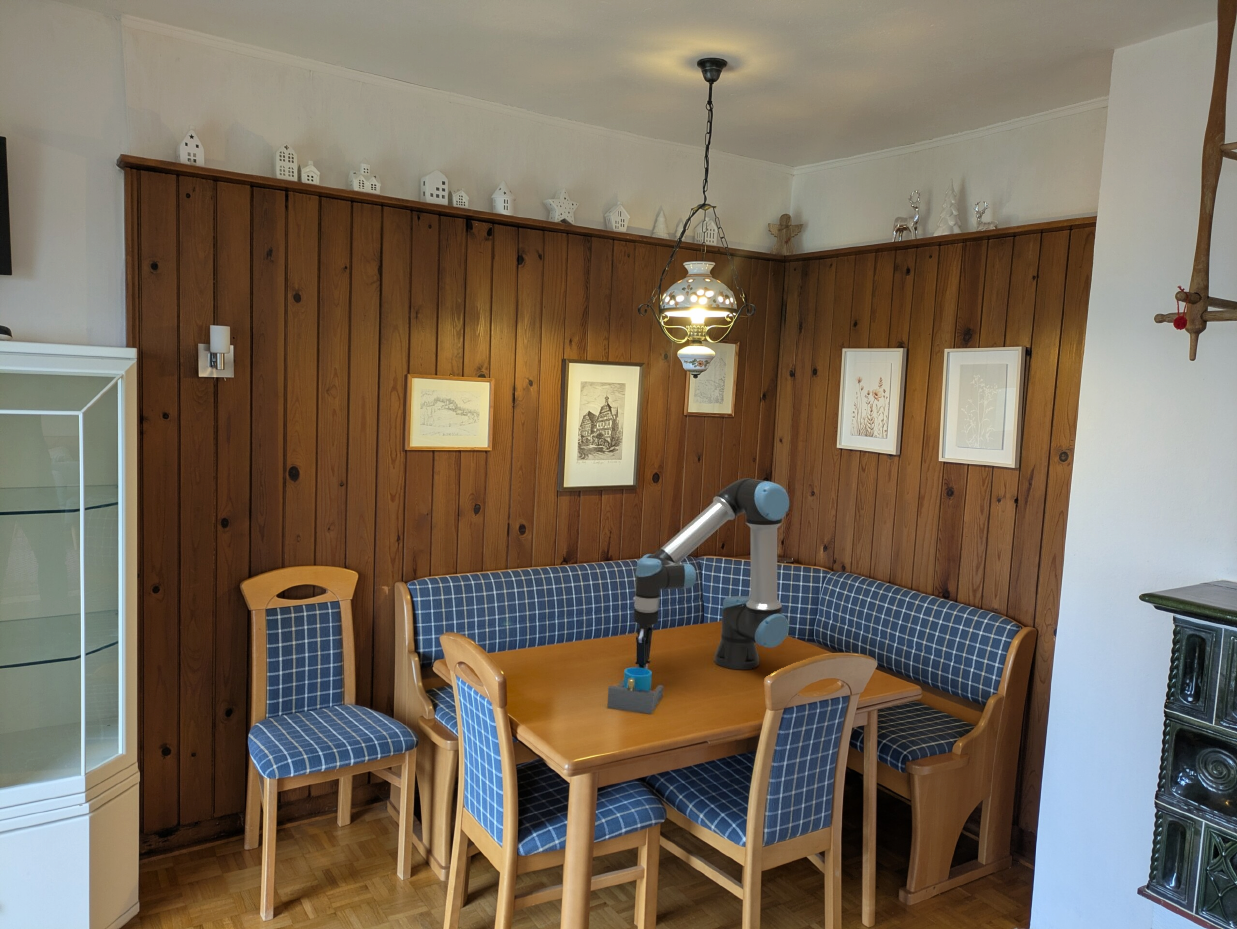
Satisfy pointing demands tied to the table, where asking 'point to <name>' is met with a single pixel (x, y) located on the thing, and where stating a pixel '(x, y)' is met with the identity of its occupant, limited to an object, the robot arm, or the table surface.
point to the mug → (638, 678)
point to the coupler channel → (633, 697)
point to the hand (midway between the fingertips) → (641, 684)
